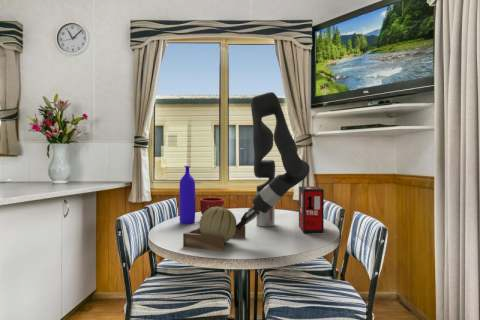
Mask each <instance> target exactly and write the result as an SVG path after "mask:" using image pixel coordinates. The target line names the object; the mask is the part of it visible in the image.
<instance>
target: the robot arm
mask: <svg viewBox="0 0 480 320" xmlns="http://www.w3.org/2000/svg"><path fill="white" fill-rule="evenodd" d="M250 109H251V111H250V112H251V117H252V126H253V127H252V128H253V130H252V131H253V132H252V134H253V137H252V138H253V144H252V145H253V155H254V157H253V175H254V176H255V178H257V179H268V180H266V182H263V183H261V184H258V185H257V186H256V195H255V196H254V197H253V198H252V204H253V205H252V206H250V207H249V208H248V210H247V211H245V212H244V214H243V215H242V216H241V218H240V221H239V222H238V223H236V224H237V225H236V227H237V229H238V230H240V229H242V228H243V227H244V226H245V227H246V225H247V224H249V223H250V222H251V221H253V220H254V219H256V221H255V222H256V224H255V225H256V226H258V227H263V228H264V227H265V228H266V227H274V226H275V223H276V222H275V218H276V217H275V214H276V212H275V210H276V209H275V206H276V204H278V202H280V200H281V199H282V197H284V196H285V194H287V193H288V191H290V190H291V188H293V187H295V186H297V185H298V184H299V183H301V182H302V181H304V180H305V179H306V178H307V176H308V175H309V173H310V169H311V168H310V165H309V164H308V162H306V161H305V160H303V159H302V158H300V155H299V154H298V151H299V150H298V145H297V144H296V142H295V140H294V138H293V135H292V133H291V132H290V129H289V127H288V122H287V120H286V117H285V113H284V111H283V108H282V106H281V103H280V100H279V98H278V96H277V95H276V93H275V92H273V91H270V92H265V93H261V94H258V95H257V94H256V95H255V96H252V98H251V100H250ZM272 115H274V116H275V128H274V132H272V129H271V128H270V127H268V126H267V125H266V124H265V123H264V122H263V121H262V119H263V118H265V117H268V116H269V117H270V116H272ZM274 144H275V146H276V148H277V151H278V153H279V154H280V158H281V159H280V160H281V163H282V166H283V169H284V171H285V173H283V174H278V175H276V162H275V160H274V159H264V158H265V157H266V156H267V155H268V154H269V153H270V152H271V151H272V149H273V148H274Z"/></svg>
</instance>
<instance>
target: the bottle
mask: <svg viewBox="0 0 480 320" xmlns="http://www.w3.org/2000/svg"><path fill="white" fill-rule="evenodd" d="M190 167H191V165H184V168H185V172H184V175H182V177H181V178H180V180H179V191H178V192H179V197H178V198H179V200H178V203H179V205H178V206H179V209H178V210H179V212H178V213H179V223H180V224H181V223H182V224H181V225H191V224H192V223H193V224H194V223H195V221H196V181H195V178H194V177H193V176H192V175H191V173H190Z"/></svg>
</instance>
